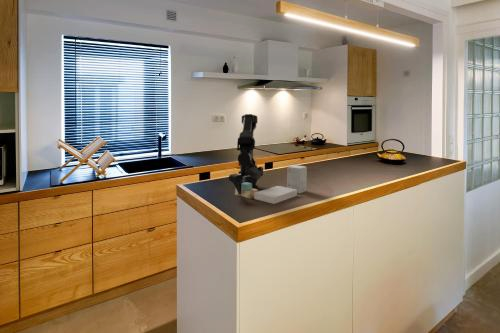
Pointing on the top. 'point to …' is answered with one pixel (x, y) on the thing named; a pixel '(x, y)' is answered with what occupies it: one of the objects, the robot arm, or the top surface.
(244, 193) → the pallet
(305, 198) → the top surface
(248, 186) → the crate
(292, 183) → the small box
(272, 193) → the block
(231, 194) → the top surface
